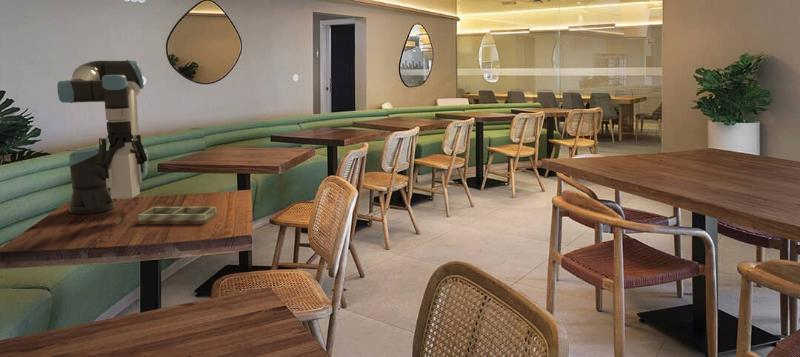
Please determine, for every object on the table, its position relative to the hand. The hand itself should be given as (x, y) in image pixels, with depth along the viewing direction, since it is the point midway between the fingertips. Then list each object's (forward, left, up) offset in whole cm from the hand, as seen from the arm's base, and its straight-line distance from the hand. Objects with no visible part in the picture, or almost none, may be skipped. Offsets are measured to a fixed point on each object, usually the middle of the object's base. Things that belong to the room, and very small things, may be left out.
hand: (124, 184), depth 208 cm
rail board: (+12, +14, -12) cm, 22 cm away
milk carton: (0, 0, -4) cm, 4 cm away
